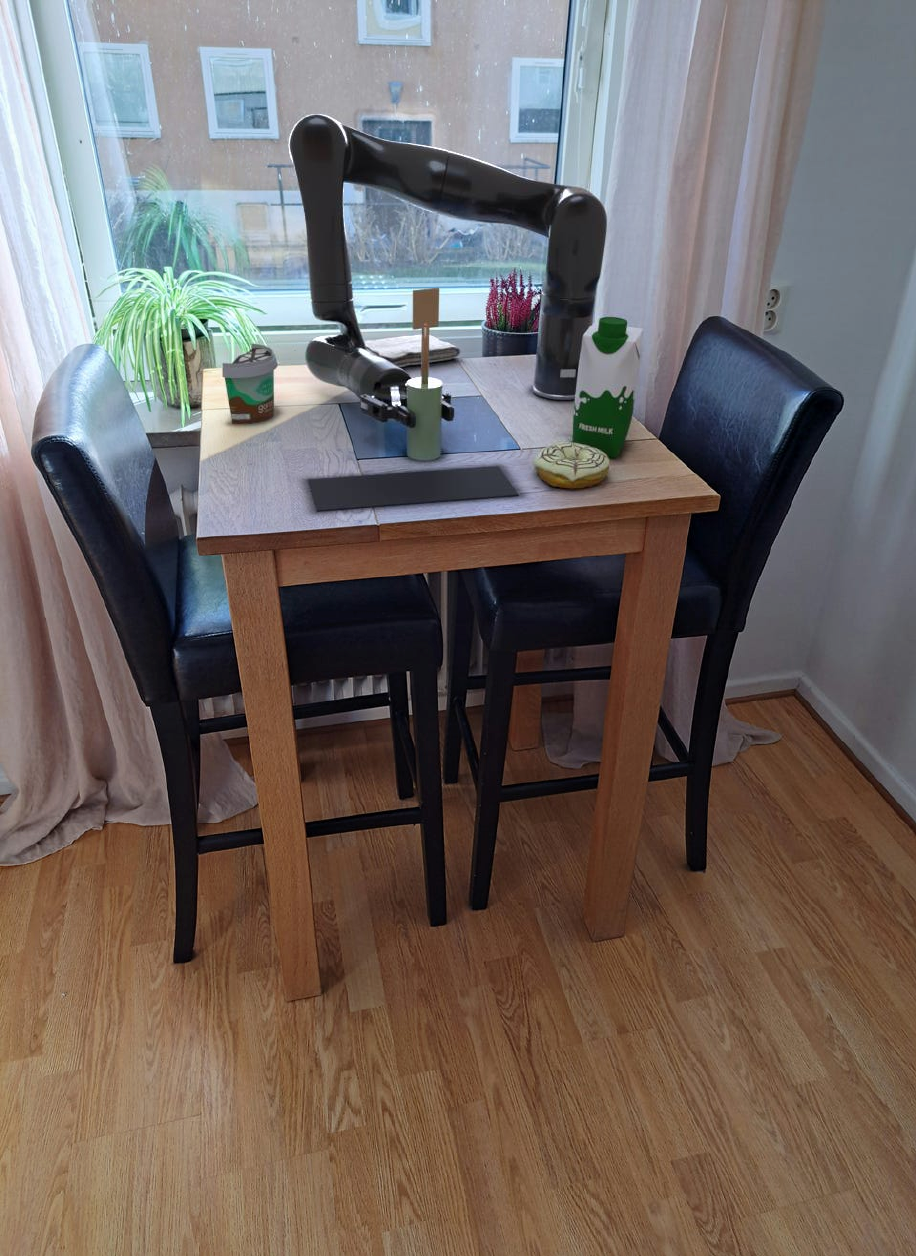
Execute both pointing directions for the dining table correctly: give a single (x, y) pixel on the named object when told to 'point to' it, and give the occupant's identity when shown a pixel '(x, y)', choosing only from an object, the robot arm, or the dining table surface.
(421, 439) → the spatula crock
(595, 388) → the milk carton
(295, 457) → the dining table surface
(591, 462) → the decorated donut
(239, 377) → the food container
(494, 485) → the mat
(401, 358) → the washcloth
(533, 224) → the robot arm
